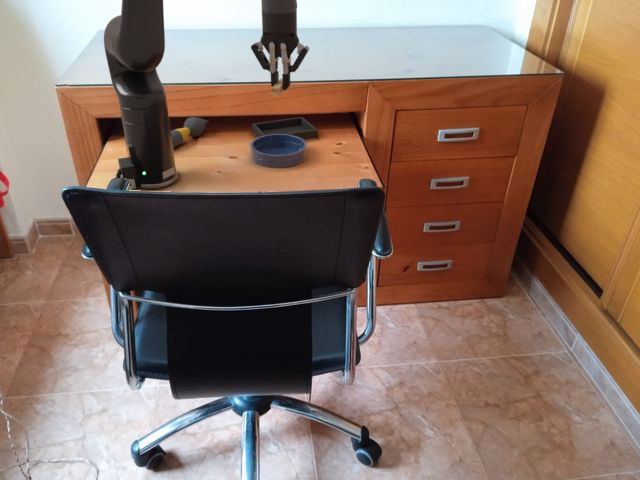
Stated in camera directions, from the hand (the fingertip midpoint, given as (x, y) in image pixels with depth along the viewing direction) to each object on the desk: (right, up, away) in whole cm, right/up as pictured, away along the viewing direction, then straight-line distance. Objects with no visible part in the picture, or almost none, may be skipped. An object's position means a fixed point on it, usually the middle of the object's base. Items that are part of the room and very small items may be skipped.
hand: (280, 88), depth 124 cm
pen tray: (0, -8, +16) cm, 18 cm away
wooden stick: (0, 0, 0) cm, 0 cm away
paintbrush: (-25, -11, +10) cm, 29 cm away
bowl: (-1, -16, +4) cm, 16 cm away
